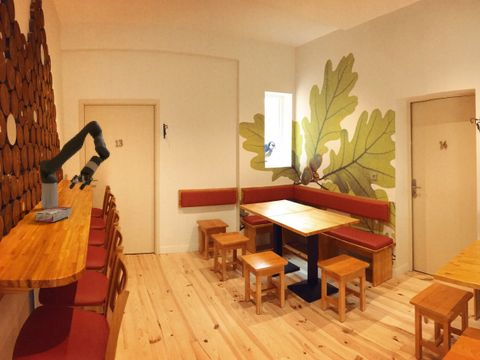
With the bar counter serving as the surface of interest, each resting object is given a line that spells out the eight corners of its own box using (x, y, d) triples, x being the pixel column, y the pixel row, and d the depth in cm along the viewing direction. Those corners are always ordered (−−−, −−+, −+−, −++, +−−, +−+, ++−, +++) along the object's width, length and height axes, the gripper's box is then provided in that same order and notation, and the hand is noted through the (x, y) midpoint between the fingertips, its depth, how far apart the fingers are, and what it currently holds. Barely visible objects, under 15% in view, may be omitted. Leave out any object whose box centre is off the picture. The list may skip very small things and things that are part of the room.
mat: (34, 220, 193) (34, 218, 193) (54, 216, 205) (54, 214, 205) (48, 222, 189) (48, 220, 189) (67, 218, 201) (67, 216, 201)
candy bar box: (55, 214, 206) (35, 221, 190) (55, 206, 205) (34, 212, 189) (72, 215, 204) (53, 222, 188) (71, 207, 203) (52, 213, 187)
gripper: (100, 174, 222) (87, 193, 212) (84, 172, 227) (70, 191, 218) (94, 166, 216) (80, 185, 207) (78, 165, 222) (63, 184, 212)
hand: (75, 188), depth 212 cm, fingers open, 8 cm apart
